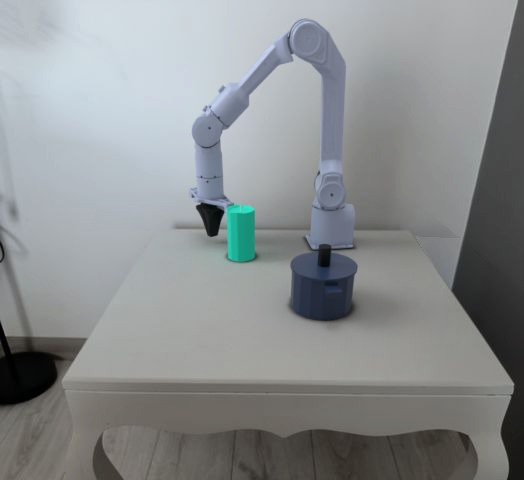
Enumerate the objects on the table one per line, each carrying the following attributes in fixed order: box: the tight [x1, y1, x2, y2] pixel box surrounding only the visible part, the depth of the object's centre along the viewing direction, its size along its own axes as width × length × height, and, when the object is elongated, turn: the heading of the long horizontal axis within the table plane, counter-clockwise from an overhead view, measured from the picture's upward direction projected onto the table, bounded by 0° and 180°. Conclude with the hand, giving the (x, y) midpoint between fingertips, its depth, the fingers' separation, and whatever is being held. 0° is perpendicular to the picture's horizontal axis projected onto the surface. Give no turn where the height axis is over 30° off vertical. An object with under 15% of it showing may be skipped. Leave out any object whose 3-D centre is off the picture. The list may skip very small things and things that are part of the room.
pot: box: [290, 270, 356, 321], centre depth 91 cm, size 11×16×8 cm
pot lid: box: [289, 244, 359, 282], centre depth 88 cm, size 12×12×4 cm
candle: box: [226, 201, 256, 263], centre depth 108 cm, size 6×6×12 cm
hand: (212, 235), depth 117 cm, fingers closed
